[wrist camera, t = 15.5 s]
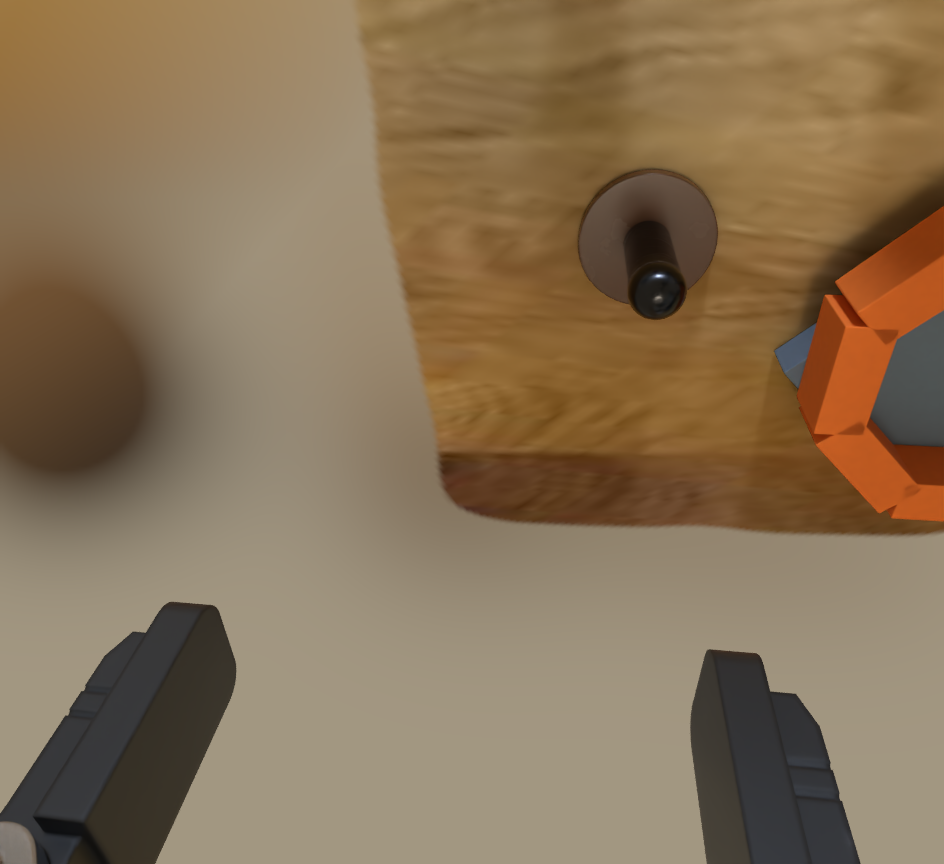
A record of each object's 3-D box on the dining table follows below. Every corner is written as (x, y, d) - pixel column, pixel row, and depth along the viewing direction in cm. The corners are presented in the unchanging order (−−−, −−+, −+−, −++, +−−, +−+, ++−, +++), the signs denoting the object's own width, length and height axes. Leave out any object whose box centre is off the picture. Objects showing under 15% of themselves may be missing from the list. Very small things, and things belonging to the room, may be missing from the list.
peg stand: (657, 138, 35) (675, 186, 28) (743, 239, 37) (778, 306, 30) (551, 235, 38) (544, 299, 32) (635, 323, 40) (646, 399, 34)
